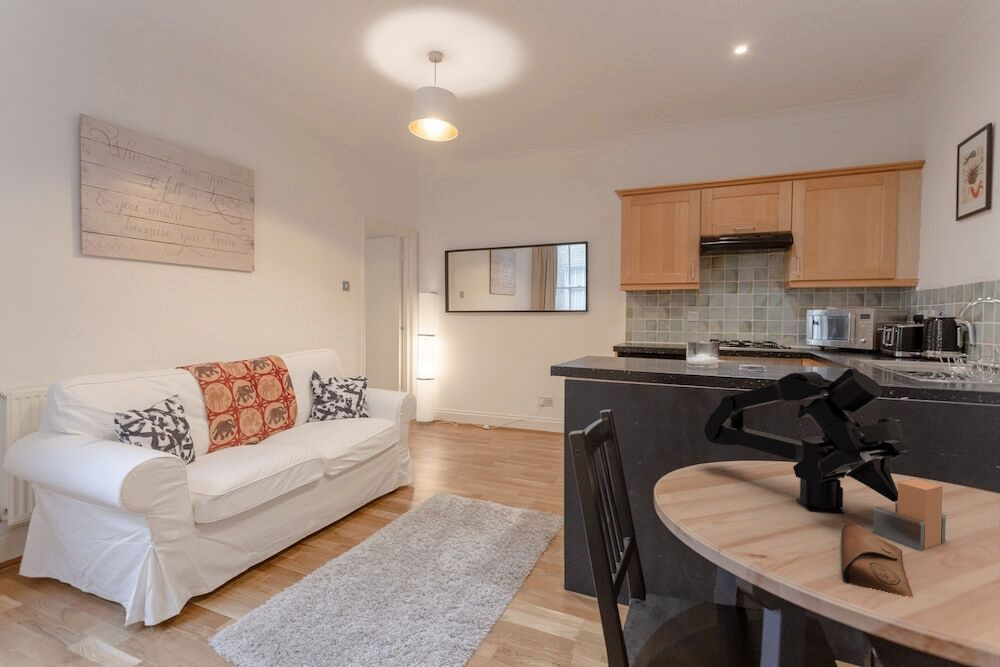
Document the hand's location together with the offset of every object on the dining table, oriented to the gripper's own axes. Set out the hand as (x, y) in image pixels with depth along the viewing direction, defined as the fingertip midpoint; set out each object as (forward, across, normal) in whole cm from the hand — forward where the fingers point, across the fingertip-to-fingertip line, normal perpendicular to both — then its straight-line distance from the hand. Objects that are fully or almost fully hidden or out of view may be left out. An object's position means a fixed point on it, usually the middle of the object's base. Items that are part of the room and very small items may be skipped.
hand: (897, 500), depth 86 cm
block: (+7, 0, +2) cm, 7 cm away
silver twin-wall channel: (+6, 0, +3) cm, 6 cm away
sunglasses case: (+8, -15, +1) cm, 17 cm away
